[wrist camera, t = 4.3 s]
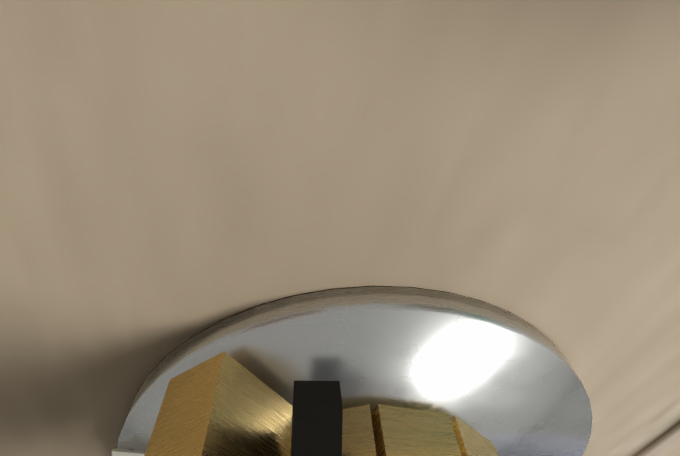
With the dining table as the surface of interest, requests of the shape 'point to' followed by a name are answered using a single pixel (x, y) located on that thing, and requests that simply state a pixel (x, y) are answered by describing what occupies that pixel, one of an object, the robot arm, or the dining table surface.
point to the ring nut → (289, 421)
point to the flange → (396, 364)
